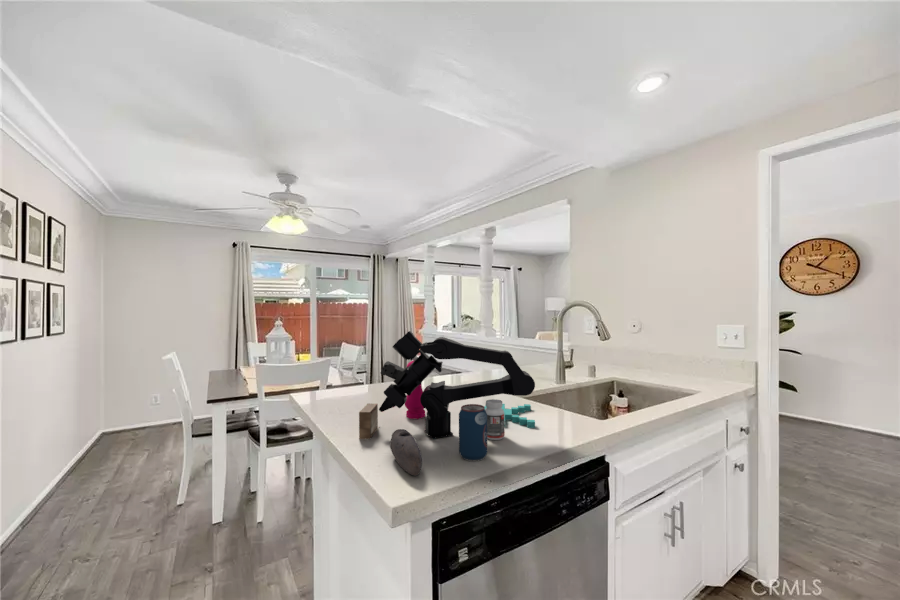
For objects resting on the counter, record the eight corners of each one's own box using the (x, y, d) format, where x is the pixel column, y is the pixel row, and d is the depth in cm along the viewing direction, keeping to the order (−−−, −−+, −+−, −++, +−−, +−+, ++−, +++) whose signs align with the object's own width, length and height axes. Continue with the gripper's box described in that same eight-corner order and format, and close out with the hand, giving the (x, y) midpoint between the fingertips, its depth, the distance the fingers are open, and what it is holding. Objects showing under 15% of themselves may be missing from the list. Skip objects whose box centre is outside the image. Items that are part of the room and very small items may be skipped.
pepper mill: (404, 413, 129) (404, 354, 129) (426, 412, 130) (425, 354, 130) (404, 420, 122) (404, 357, 122) (427, 419, 123) (426, 357, 123)
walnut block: (378, 428, 114) (378, 403, 114) (370, 439, 105) (370, 412, 105) (367, 428, 114) (367, 403, 114) (359, 439, 105) (359, 412, 105)
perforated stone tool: (429, 479, 81) (428, 447, 81) (405, 484, 79) (404, 450, 79) (409, 454, 95) (409, 426, 95) (388, 457, 93) (388, 428, 93)
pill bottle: (506, 440, 104) (506, 403, 104) (485, 441, 103) (485, 404, 103) (502, 433, 109) (501, 398, 109) (482, 433, 109) (482, 399, 109)
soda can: (491, 460, 91) (491, 409, 91) (464, 463, 89) (463, 412, 89) (481, 449, 97) (480, 402, 97) (455, 452, 95) (455, 404, 95)
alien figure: (530, 410, 133) (473, 408, 136) (530, 404, 133) (473, 402, 136) (535, 429, 114) (468, 426, 116) (535, 422, 114) (468, 419, 116)
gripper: (403, 348, 119) (368, 383, 119) (391, 356, 100) (350, 399, 101) (428, 373, 118) (394, 409, 119) (421, 386, 100) (380, 428, 100)
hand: (380, 410), depth 110 cm, fingers closed
